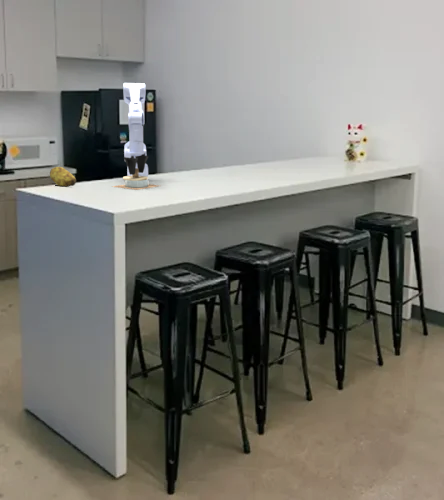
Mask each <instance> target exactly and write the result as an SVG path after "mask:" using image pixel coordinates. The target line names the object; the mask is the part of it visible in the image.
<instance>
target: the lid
mask: <svg viewBox="0 0 444 500" xmlns="http://www.w3.org/2000/svg"><path fill="white" fill-rule="evenodd" d="M122 179H123V180H124V181H125V180H131V181H141V180H148V181H149V176H148V177H146V176H139V169H138V168H136V170H135V174H134V175H132V176H127V175H125V176H123V177H122Z"/></svg>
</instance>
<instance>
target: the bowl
mask: <svg viewBox="0 0 444 500" xmlns="http://www.w3.org/2000/svg"><path fill="white" fill-rule="evenodd" d="M148 184H149V179H148V180H141V181H131V180H124V185H125V186H126V187H131V188H144V187H148Z"/></svg>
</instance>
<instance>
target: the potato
mask: <svg viewBox="0 0 444 500" xmlns="http://www.w3.org/2000/svg"><path fill="white" fill-rule="evenodd" d="M49 177H50V179H51V180H52V181H53V182H54V183H55V184H56V185H57V186H58V187H73V186H75V185H76V183H77V179H76V177H75V176H74V175H73V174H72V173H71V172H70V171H69V170H67V169H66V168H64V167H62V166H55V167H53V168H51V169H50V172H49Z"/></svg>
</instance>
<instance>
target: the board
mask: <svg viewBox="0 0 444 500" xmlns="http://www.w3.org/2000/svg"><path fill="white" fill-rule="evenodd" d="M111 187H112V188H118V189H126V190H127V189H129V190H135V191H136V190H137V191H139V190H145V189H150V188H157V187H158V188H159V187H160V185H158V184H149V183H148V187H144V188H131V187H126V186H125V184H119V185H113V186H111Z"/></svg>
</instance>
